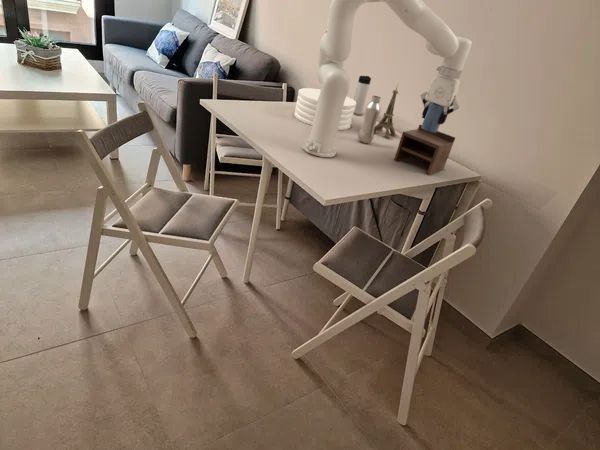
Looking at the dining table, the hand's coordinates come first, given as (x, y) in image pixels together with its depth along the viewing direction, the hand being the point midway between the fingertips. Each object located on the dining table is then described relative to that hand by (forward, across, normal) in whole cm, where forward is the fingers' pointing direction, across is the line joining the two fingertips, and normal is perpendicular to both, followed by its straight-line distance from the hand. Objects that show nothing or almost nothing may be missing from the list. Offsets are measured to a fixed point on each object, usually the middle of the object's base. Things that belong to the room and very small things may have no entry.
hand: (432, 120), depth 162 cm
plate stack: (+19, -56, +6) cm, 59 cm away
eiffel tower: (+19, -31, +24) cm, 43 cm away
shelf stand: (+19, 0, +2) cm, 19 cm away
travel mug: (+19, -59, +40) cm, 74 cm away
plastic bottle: (+19, -27, 0) cm, 33 cm away
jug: (+4, 0, 0) cm, 4 cm away
